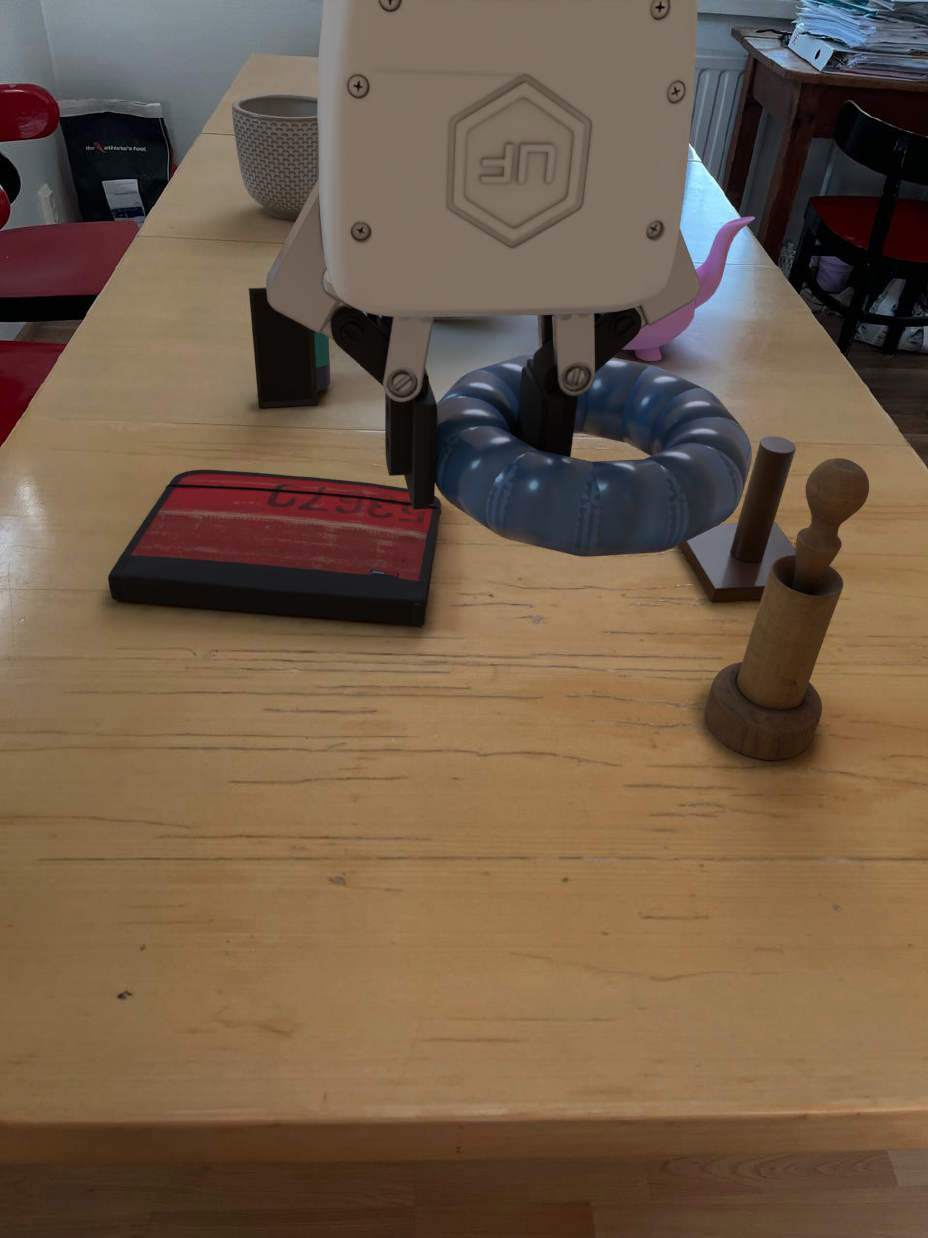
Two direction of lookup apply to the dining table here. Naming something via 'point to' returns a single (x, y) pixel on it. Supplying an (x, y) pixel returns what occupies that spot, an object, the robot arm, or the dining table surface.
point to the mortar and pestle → (789, 630)
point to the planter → (277, 150)
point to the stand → (746, 532)
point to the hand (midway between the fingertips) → (475, 481)
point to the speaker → (286, 356)
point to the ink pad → (283, 548)
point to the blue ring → (593, 491)
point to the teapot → (681, 319)
